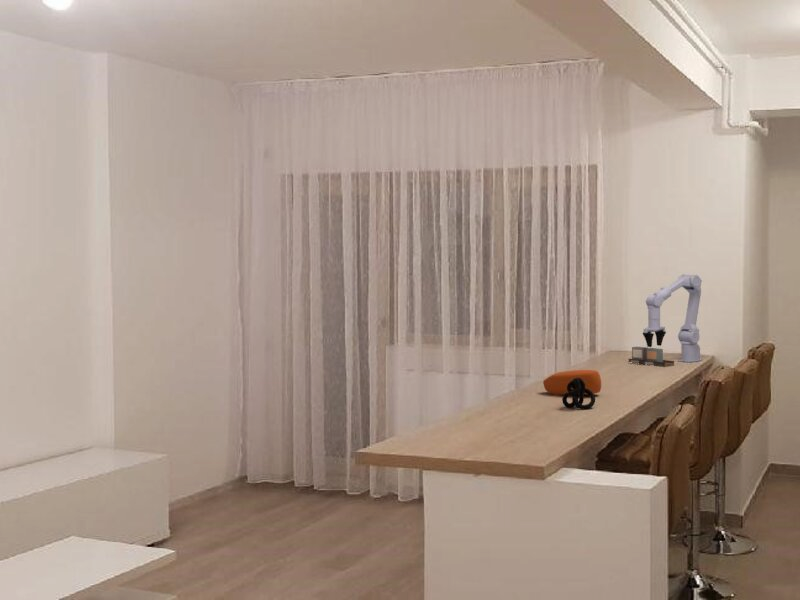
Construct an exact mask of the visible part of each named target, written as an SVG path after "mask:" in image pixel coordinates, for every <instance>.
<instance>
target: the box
mask: <svg viewBox="0 0 800 600" xmlns="http://www.w3.org/2000/svg"><path fill="white" fill-rule="evenodd" d="M647 348H649V347H647V346H646V347H644V346H632V347H631V359H638V360H646V349H647Z"/></svg>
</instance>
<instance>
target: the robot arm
mask: <svg viewBox="0 0 800 600" xmlns="http://www.w3.org/2000/svg"><path fill="white" fill-rule="evenodd" d="M702 281H703V280H702V278H701V277H700V276H699V275H698V274H685V273H684V274H681V275H680V276H678V277H677V279H676V280H675V281H673V282H672V283H671V284H670V285H669V286H664V287H663V286H661V287H660V289H659V290H658V291H655V292H653V294H650V295H648V296H647V297H646V300H645V305H646V307H647V311H648V316H647V317H648V319H647V321H648V325H647V326H648V327H646V328H643V332H642V335H643V337H644V339H645V342H646V347H648V348H653V339H654V336H655V338H656V345H657V346H659V347H661V346H662V344H663V340H664V337H665V335H666V334H667V331H666V326H661V307H662V305H663V303H664V302H665V301H666V300H668V299H669V298H670V297H671V296H672V293H674V292H675V291H677V290H679V289H681V288H683V289H685V291H686V292H688V302H687V307H686V315H685V320H684V324H682V326H681V327H680V331H679V332H678V335H677V339H678V341H679V343H680V345H681V349H680V350H681V359H678V360H677V361H678V362H686V363H687V362H688V363H693V362H699V361H702V359H701V347H700V345H699V344H698V342H699V341H700V329H699V327H698V326H697V321H698V314H699V308H700V301H701V295H702V287H701V286H702Z"/></svg>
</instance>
